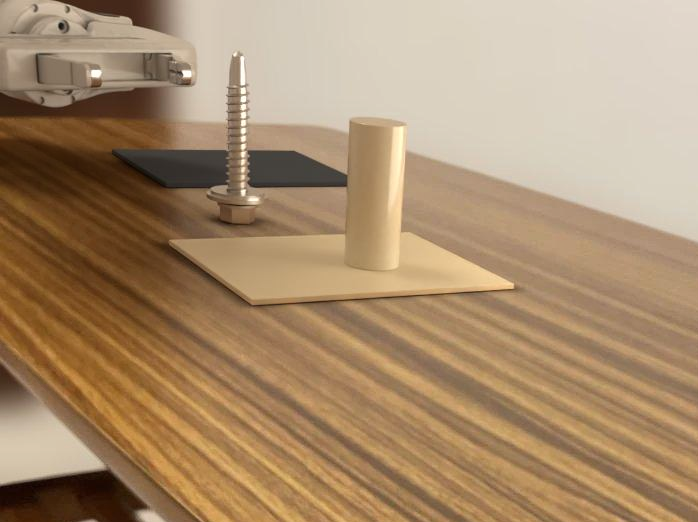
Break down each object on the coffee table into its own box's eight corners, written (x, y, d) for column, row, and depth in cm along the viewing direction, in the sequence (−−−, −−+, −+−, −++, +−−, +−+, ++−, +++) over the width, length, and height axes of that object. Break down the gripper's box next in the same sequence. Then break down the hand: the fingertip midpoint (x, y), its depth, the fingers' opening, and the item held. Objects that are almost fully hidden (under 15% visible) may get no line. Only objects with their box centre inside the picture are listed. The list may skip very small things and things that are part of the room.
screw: (234, 230, 97) (194, 217, 99) (280, 223, 100) (240, 211, 103) (234, 53, 91) (191, 44, 94) (283, 54, 95) (240, 45, 97)
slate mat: (166, 187, 108) (166, 182, 108) (111, 153, 120) (111, 149, 120) (361, 185, 119) (361, 181, 118) (294, 154, 130) (294, 150, 130)
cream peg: (359, 272, 88) (365, 126, 83) (334, 258, 91) (339, 116, 86) (408, 269, 90) (417, 127, 86) (383, 255, 93) (390, 117, 88)
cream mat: (251, 305, 79) (251, 299, 79) (168, 244, 90) (168, 239, 90) (513, 289, 90) (514, 283, 89) (409, 236, 101) (409, 231, 101)
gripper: (-76, 10, 99) (26, 33, 92) (136, 16, 115) (237, 35, 108) (-67, 93, 102) (32, 121, 95) (139, 87, 117) (237, 111, 111)
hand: (143, 75), depth 102 cm, fingers open, 8 cm apart
